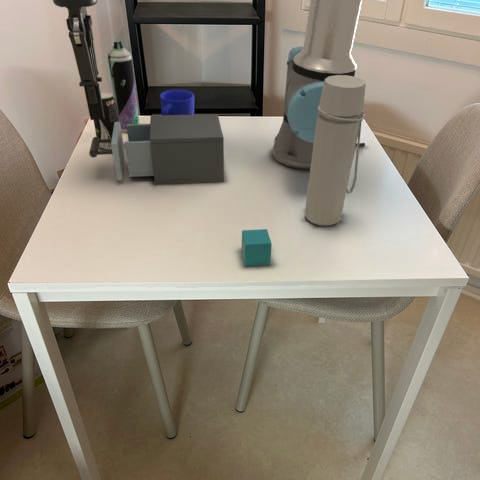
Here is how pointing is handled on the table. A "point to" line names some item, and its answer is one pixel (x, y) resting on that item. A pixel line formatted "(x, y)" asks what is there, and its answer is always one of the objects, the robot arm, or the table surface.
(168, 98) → the mug
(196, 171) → the grey drawer cabinet
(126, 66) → the spray can
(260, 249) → the cube
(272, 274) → the table surface
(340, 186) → the water bottle
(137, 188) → the table surface
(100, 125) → the beverage can
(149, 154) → the drawer
